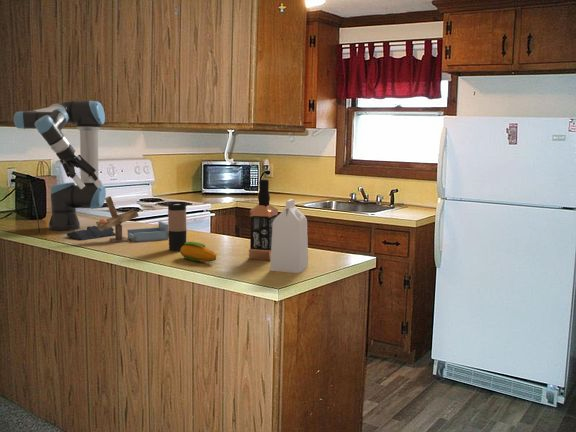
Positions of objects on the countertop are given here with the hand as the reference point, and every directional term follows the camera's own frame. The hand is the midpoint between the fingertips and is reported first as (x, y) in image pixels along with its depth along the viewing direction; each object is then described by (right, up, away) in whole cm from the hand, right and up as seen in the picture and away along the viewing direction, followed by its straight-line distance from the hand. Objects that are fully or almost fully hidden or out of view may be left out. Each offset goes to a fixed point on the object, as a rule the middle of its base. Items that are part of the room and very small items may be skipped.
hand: (91, 186), depth 279 cm
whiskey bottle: (+79, -30, -28) cm, 89 cm away
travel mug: (+42, -28, -14) cm, 52 cm away
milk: (+90, -33, -46) cm, 106 cm away
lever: (+11, -16, +3) cm, 20 cm away
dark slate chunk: (-5, -23, +17) cm, 29 cm away
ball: (+5, -16, 0) cm, 17 cm away
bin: (+23, -24, +11) cm, 35 cm away
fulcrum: (+11, -25, +5) cm, 28 cm away
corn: (+54, -31, -35) cm, 72 cm away
